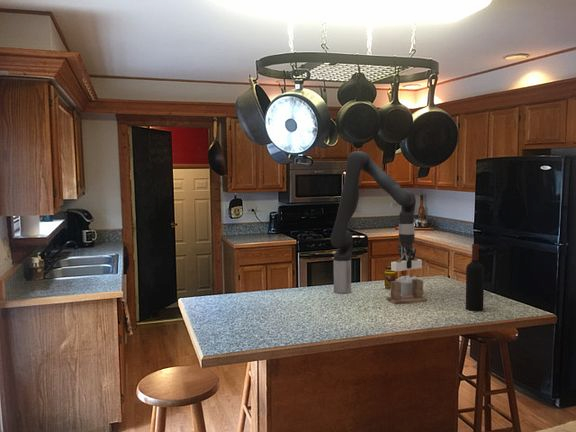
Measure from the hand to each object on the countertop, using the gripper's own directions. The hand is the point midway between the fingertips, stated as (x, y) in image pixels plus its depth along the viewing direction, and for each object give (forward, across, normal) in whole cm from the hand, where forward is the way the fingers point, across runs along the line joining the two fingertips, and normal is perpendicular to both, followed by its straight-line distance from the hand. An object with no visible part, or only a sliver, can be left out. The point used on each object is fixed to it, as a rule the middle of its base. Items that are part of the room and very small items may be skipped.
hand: (406, 267), depth 236 cm
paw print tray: (+17, +13, -8) cm, 23 cm away
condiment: (+17, +26, -4) cm, 31 cm away
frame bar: (+1, 0, 0) cm, 1 cm away
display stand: (+16, 0, 0) cm, 16 cm away
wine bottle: (+17, -24, -21) cm, 36 cm away
